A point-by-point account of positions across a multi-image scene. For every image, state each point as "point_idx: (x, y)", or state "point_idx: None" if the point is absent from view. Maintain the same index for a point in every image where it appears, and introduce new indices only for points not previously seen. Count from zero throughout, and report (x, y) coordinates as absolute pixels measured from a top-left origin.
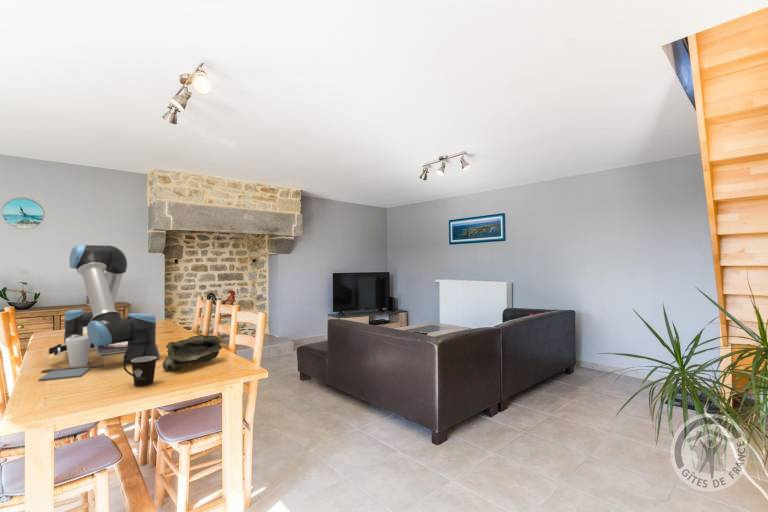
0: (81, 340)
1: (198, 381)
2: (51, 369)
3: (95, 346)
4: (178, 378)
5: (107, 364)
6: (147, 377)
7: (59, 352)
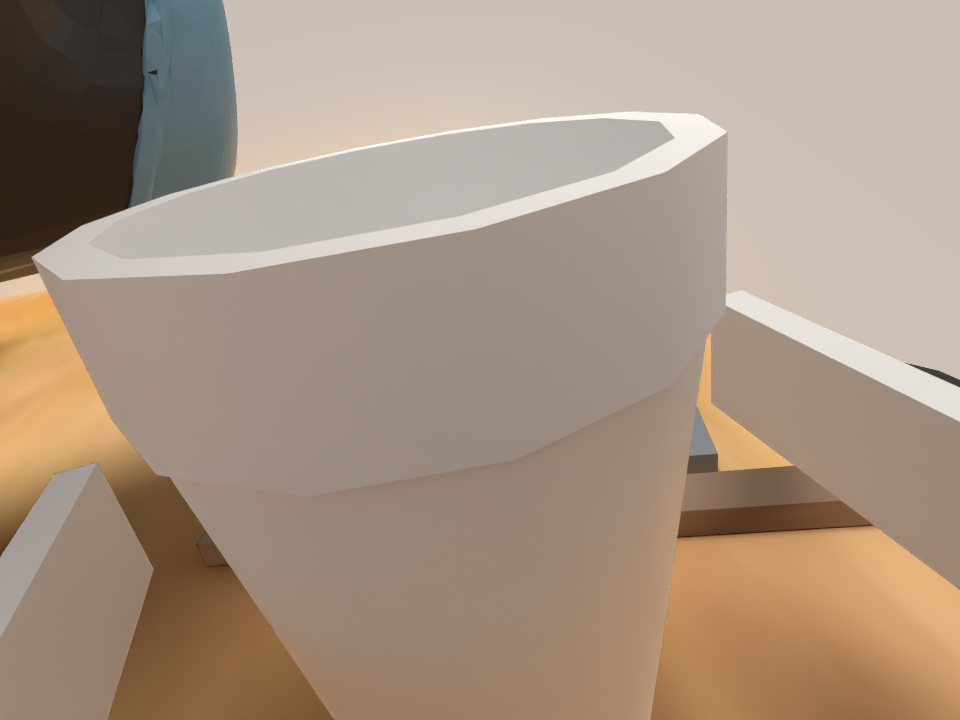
0: (338, 175)
1: (24, 298)
2: (756, 485)
3: (74, 598)
4: (39, 317)
5: (135, 642)
6: None
7: (721, 336)
